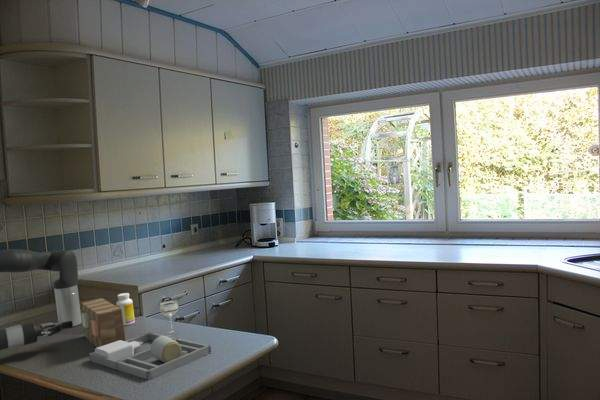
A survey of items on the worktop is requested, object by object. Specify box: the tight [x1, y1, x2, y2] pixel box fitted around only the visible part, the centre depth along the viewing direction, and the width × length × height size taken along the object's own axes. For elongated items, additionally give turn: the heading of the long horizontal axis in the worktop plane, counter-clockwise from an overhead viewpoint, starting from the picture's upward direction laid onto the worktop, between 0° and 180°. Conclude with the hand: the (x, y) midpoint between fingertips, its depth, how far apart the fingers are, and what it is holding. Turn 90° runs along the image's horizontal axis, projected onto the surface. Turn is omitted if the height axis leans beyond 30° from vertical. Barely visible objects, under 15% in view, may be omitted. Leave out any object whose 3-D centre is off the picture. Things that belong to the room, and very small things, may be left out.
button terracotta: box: [91, 320, 99, 337], centre depth 184 cm, size 5×5×5 cm
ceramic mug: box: [150, 335, 188, 363], centre depth 165 cm, size 11×8×8 cm
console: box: [80, 297, 126, 348], centre depth 192 cm, size 28×8×14 cm, turn 35°
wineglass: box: [159, 300, 179, 333], centre depth 195 cm, size 7×7×12 cm
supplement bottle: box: [115, 292, 136, 327], centre depth 215 cm, size 7×7×13 cm
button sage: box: [81, 312, 89, 328], centre depth 197 cm, size 5×5×5 cm
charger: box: [94, 340, 144, 361], centre depth 174 cm, size 5×9×15 cm
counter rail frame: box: [88, 332, 212, 381], centre depth 170 cm, size 35×24×2 cm
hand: (72, 323), depth 194 cm, fingers closed
